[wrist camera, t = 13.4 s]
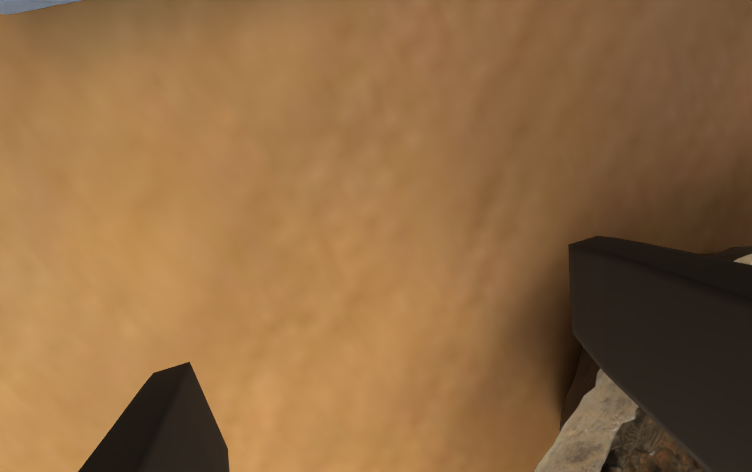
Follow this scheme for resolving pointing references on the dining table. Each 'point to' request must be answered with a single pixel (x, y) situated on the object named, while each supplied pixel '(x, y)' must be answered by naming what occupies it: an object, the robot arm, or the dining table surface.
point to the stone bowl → (615, 423)
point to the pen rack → (28, 5)
